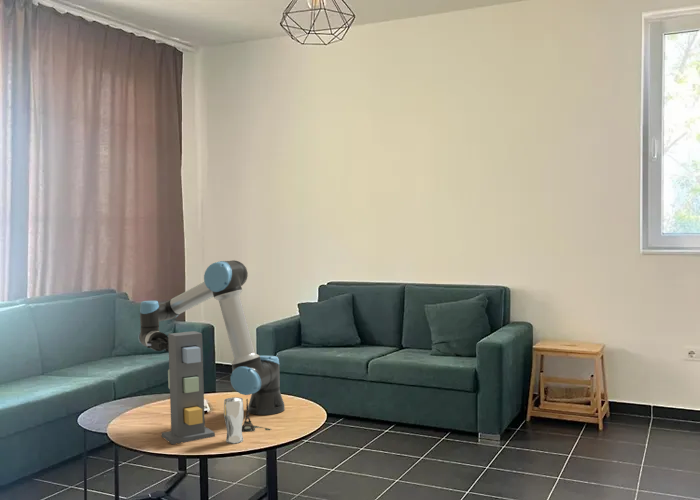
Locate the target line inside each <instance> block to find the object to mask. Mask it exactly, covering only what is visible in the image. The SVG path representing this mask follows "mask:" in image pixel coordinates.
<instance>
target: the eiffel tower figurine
mask: <svg viewBox="0 0 700 500" xmlns="http://www.w3.org/2000/svg"><path fill="white" fill-rule="evenodd" d="M245 401H246V409H245V410H246V411H245V415H244V418H245V420H243V421H244V422H243V424H242V433H249V432H250V433H253V432H256V429H264V431H271V430H272V429H271V428H267V427H263V426H257V425H253V422H252V420H251V418H250V417H251V416H250V413H249V412H248V405H249V400H248V398H246V400H245ZM247 419H248V420H247Z"/></svg>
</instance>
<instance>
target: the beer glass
mask: <svg viewBox="0 0 700 500" xmlns="http://www.w3.org/2000/svg"><path fill="white" fill-rule="evenodd" d="M244 413H245V411H244V399H243V398H242V397H238V396H237V397H235V396H234V397H233V396H232V397H227V398H225V399H223V417H224V422H225V428H226V440H225V442H226V444H231V445H234V444H241V443H242V442H243V441H244V437H243V432H242V426H243V424H244V422H243V421H244V417H245V415H244Z"/></svg>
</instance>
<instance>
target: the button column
mask: <svg viewBox="0 0 700 500" xmlns="http://www.w3.org/2000/svg"><path fill="white" fill-rule="evenodd" d="M167 336H168V341H169V351H168V370H169V375H170V389H169V400H170V401H169V402H170V403H169V404H170V430H169V431H168V430H167V431H162V432H161V438H163V439H164V438H165V439H166V440H165V439H164V440H165V441H167V442H168V441H169V442H170V443H169V442H168V443H169V444H170V445H177V444H176V443H178V444H182V443H181V442H183V443H188V442H193V441H194V442H195V441H198V440H203V439H208V438H214V437H216V433H215V431H213V430H212V429H210V428H208V427H206V424H205V423H206V422H205V421H206V419H205V418H206V417H205V391H204V390H205V389H204V388H205V387H204V384H205V383H204V358H203V357H204V355H203V354H204V353H203V333H201V332H198V331H196V330H193V331H183V332H173V333H167ZM185 346H196V347H199V348H201V362H196V363H188V364H187V363H185V362H182V353H181V347H185ZM188 376H197V377H199V391H196V392H190V393H184V392H183V387H182V377H188ZM191 406H198V407H199V408H201V409H202V417H203V423H200V424H194V425H188V424H186V423H185V422H184V421H183V408H185V407H191Z"/></svg>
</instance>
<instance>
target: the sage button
mask: <svg viewBox="0 0 700 500" xmlns="http://www.w3.org/2000/svg"><path fill="white" fill-rule="evenodd" d="M167 377H168V378H167V381H168V383H167V384H168V386H167V387H168V389H169V390H170V375H169V369H168V370H167ZM182 387H183V392H184V393H190V392H196V391H199V377H197V376H188V377H182Z"/></svg>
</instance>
